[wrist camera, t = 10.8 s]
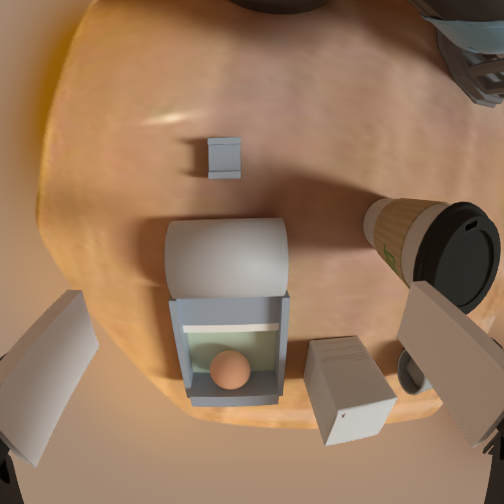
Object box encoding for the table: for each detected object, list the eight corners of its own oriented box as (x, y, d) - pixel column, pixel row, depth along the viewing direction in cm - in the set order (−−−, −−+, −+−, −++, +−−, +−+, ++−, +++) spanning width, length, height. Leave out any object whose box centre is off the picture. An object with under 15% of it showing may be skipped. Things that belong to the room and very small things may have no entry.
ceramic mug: (428, 365, 39) (449, 391, 32) (392, 375, 39) (412, 405, 31) (446, 314, 36) (473, 338, 29) (409, 322, 36) (436, 350, 28)
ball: (211, 347, 35) (205, 354, 30) (249, 347, 35) (249, 353, 30) (213, 383, 34) (208, 394, 29) (251, 382, 34) (251, 394, 29)
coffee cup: (357, 273, 32) (424, 345, 18) (340, 195, 29) (422, 228, 15) (420, 248, 32) (499, 297, 17) (409, 174, 29) (504, 193, 14)
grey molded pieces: (168, 144, 28) (146, 138, 20) (283, 140, 29) (300, 133, 21) (191, 371, 38) (185, 411, 30) (277, 369, 38) (285, 409, 31)
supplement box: (301, 378, 37) (322, 447, 25) (309, 338, 35) (337, 410, 23) (348, 373, 37) (378, 436, 26) (359, 334, 35) (399, 397, 23)
